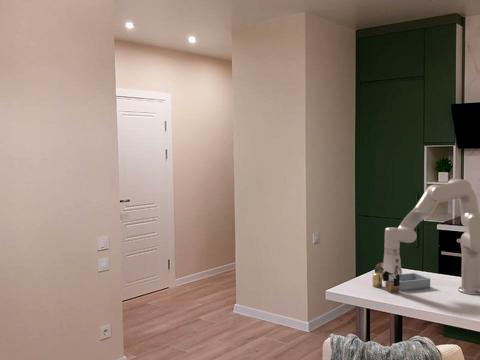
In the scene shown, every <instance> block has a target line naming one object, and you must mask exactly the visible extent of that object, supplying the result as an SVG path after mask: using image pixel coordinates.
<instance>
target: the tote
mask: <svg viewBox="0 0 480 360" xmlns="http://www.w3.org/2000/svg"><path fill="white" fill-rule="evenodd" d="M389 281H394V275H389ZM425 289H426V290H427V289H431V278H430V277H429V278H428V277H427V276H424V275H421V274H418V273H415V272H410V273H402V274H401V277H400V285H399V292H406V291H415V290H416V291H417V290H425Z"/></svg>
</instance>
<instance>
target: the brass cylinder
mask: <svg viewBox="0 0 480 360" xmlns="http://www.w3.org/2000/svg"><path fill="white" fill-rule="evenodd" d="M372 287H373V288H378V289H380V288H383V277H382V273H375V272H373V273H372Z"/></svg>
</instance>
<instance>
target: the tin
mask: <svg viewBox="0 0 480 360" xmlns="http://www.w3.org/2000/svg"><path fill="white" fill-rule="evenodd" d="M382 264H383V262H378V263H377V264H376V265H375V267H374V273H382V278H383V270H382ZM401 271H402V269H401ZM402 272H403V271H402ZM389 275H393V274H391V273H389ZM396 275H397V274H396Z"/></svg>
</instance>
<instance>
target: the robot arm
mask: <svg viewBox="0 0 480 360" xmlns="http://www.w3.org/2000/svg"><path fill="white" fill-rule="evenodd" d="M477 197H478V196H477V195H476V193H475V190H473V188H472V184H471V182H469V181H468V180H466V179H462V178H451V179H449V180H448V181H447V183H446V184H441V185H439V184H431V185H429V186H428V187H427V188H426V189H425V191H424V192H423V194H422V196H421V197H420V199H418V201H417V203H416V205H415V206H414V207H413V209H412V210H411V211H409V213H407V215H406V216H405V217H404V218H403V220H402V221H401V222H400V224H399V226H398V227H389V226H388V227H385V229H384V253H383V262H382V263H383V264H382V270H383V277H382V282H386V281H389V273H391V274H393V275H394V284H393V285H394V286H399V285H400V277H401V274H403V271H401V270H402V262H401V261H402V260H401V255H400V248H401V247H400V246H401V245H400V244H401V243H406V244H411V243H414V242H415V241H416V240H417V238H418V237H417V232H416V231H415V228H416V227H417V226H418V224H419V223H421V222H423V220H426V219H428V218H429V217H430V216H431V215H432V214H433V212H434V210H435V209H436V208H437V205H438V204H439V203H446V202H450V201H453V200H458V203H459V211H460V212H459V213H460V222H461V225H462V227H465V228H466V229H468V230H466V231H464V232H463V233H462V235H461V236H460V240H459V241H460V248H461V249H460V250H461V286H458V288H457V289H458V292H460V293H463V294H466V295H472V296H473V295H480V210H479V204H478V198H477ZM396 274H397V275H396Z"/></svg>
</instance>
